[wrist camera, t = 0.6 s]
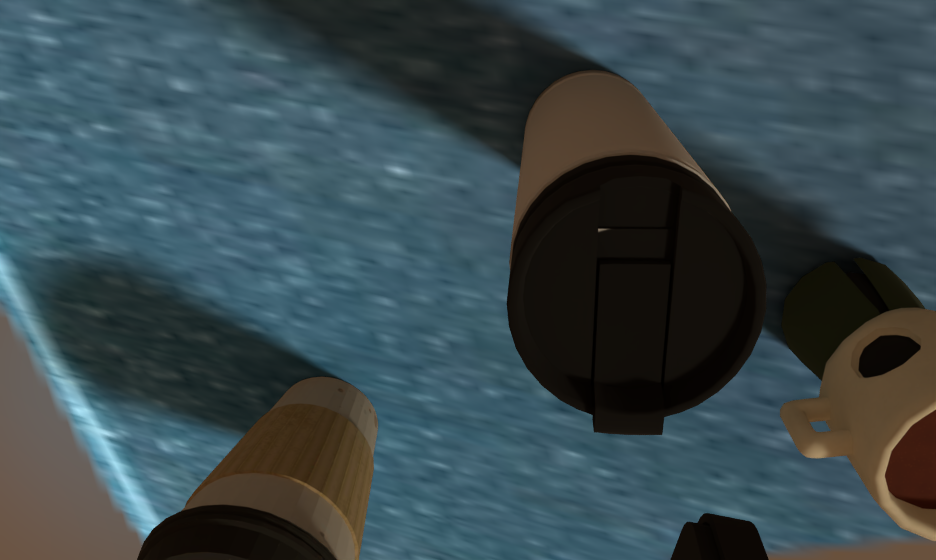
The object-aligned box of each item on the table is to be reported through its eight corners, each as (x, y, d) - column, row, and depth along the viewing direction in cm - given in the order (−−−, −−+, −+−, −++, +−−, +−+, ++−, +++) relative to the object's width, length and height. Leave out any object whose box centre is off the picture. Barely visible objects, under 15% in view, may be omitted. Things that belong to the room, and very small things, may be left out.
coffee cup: (236, 454, 45) (101, 666, 31) (268, 327, 41) (129, 506, 27) (382, 504, 45) (312, 734, 32) (428, 382, 41) (371, 586, 28)
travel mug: (524, 202, 36) (503, 436, 18) (525, 69, 34) (502, 187, 15) (647, 203, 36) (755, 446, 17) (658, 68, 33) (799, 188, 15)
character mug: (956, 228, 35) (1169, 362, 23) (949, 353, 37) (1137, 531, 26) (726, 263, 37) (814, 403, 25) (735, 380, 39) (818, 557, 27)
